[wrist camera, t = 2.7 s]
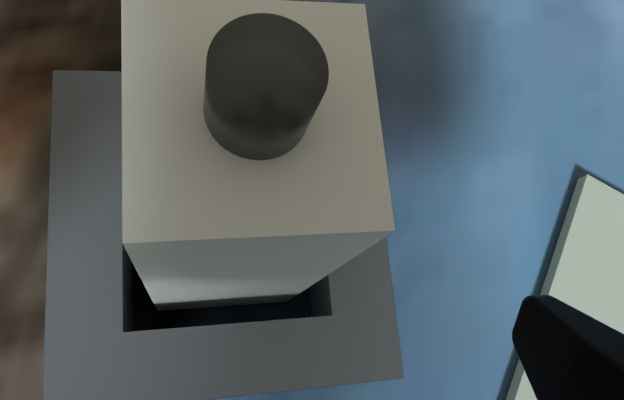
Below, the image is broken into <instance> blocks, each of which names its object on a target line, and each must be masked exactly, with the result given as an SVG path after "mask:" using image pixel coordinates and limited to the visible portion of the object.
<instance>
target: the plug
mask: <svg viewBox="0 0 624 400" xmlns="http://www.w3.org/2000/svg"><path fill="white" fill-rule="evenodd" d="M121 58H122V244H123V246H124V248H125V249H126V251H127V253H128V255H129V257H130V259H131V261H132V263H133V265H134V267H135V269H136V271H137V273H138V275H139V276H140V278H141V280H142V282H143V284H144V286H145V288H146V290H147V292H148V294H149V296H150V298H151V300H152V301H153V303H154V305H155V307H156V309H157V311H164V310H177V309H191V308H205V307H219V306H232V305H246V304H260V303H273V302H287V301H289V300H290V299H292V298H293V297H295V296H296V295H298V294H300V293H301V292H303V291H304V290H306V289H307V288H309V287H310V286H312V285H313V284H315V283H316V282H318V281H319V280H321V279H322V278H324V277H325V276H327V275H328V274H330V273H331V272H333V271H335V270H336V269H338V268H339V267H341V266H342V265H344V264H345V263H347V262H348V261H350V260H351V259H353V258H354V257H356V256H357V255H359V254H360V253H362V252H363V251H365V250H366V249H368V248H369V247H371V246H373V245H374V244H376V243H377V242H379V241H380V240H382V239H383V238H385V237H386V236H388V235H389V234H391V233H392V232H394V231H395V225H394V218H393V210H392V203H391V195H390V188H389V180H388V173H387V165H386V158H385V150H384V143H383V135H382V128H381V120H380V113H379V105H378V98H377V90H376V83H375V75H374V68H373V60H372V53H371V45H370V38H369V30H368V23H367V15H366V8H365V4H352V3H331V2H310V1H289V0H121Z"/></svg>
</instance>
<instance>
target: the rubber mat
mask: <svg viewBox="0 0 624 400" xmlns="http://www.w3.org/2000/svg"><path fill="white" fill-rule="evenodd" d="M544 294H545V295H551V296H553V297H555V298H557V299H558V300H560V301H562V302H564V303H566V304H568V305H570V306H572V307H574V308H575V309H577V310H579V311H581V312H583V313H585V314H587V315H589V316H591V317H592V318H594V319H596V320H598V321H600V322H602V323H604V324H606V325H608V326H609V327H611V328H613V329H615V330H617V331H619V332H621V333H623V334H624V194H622V193H620V192H618V191H617V190H615V189H613V188H611V187H609V186H608V185H606V184H604V183H602V182H600V181H599V180H597V179H595V178H593V177H591V176H590V175H588V174H587V175H585V176H583V177H581V178H579V179H578V180H577V184H576V187H575V190H574V193H573V196H572V199H571V202H570V205H569V208H568V211H567V214H566V217H565V220H564V223H563V226H562V229H561V232H560V235H559V238H558V241H557V244H556V247H555V251H554V254H553V257H552V260H551V263H550V266H549V269H548V272H547V275H546V278H545V281H544V284H543V287H542V290H541V293H540V295H544ZM506 400H537V398H536V396H535V394H534V391H533V389H532V387H531V384H530V382H529V380H528V377H527V375H526V373H525V370H524V368H523V366H522V363H521V361H520V359H519V360H518V363H517V366H516V369H515V372H514V375H513V378H512V382H511V385H510V388H509V391H508V394H507V397H506Z"/></svg>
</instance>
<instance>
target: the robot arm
mask: <svg viewBox="0 0 624 400" xmlns="http://www.w3.org/2000/svg"><path fill="white" fill-rule="evenodd" d="M512 340H513V344H514V347H515V349H516V352H517V354H518V356H519V359H520V361H521V363H522V366H523V368H524V370H525V373H526V375H527V377H528V380H529V382H530V384H531V387H532V389H533V391H534V394H535V396H536V398H537V400H624V334H623V333H621V332H619V331H617V330H615V329H613V328H611V327H609V326H608V325H606V324H604V323H602V322H600V321H598V320H596V319H594V318H592V317H591V316H589V315H587V314H585V313H583V312H581V311H579V310H577V309H575V308H574V307H572V306H570V305H568V304H566V303H564V302H562V301H560V300H558V299H557V298H555V297H553V296H551V295H545V294H544V295H532V296H527V297H526V298H525V299H524V300H523V301H522V304H521V307H520V310H519V313H518V316H517V319H516V322H515V325H514V328H513V332H512Z"/></svg>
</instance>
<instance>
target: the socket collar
mask: <svg viewBox="0 0 624 400" xmlns="http://www.w3.org/2000/svg"><path fill="white" fill-rule="evenodd" d="M309 296H310V307H311V317H307V318H294V319H282V320H269V321H257V322H244V323H232V324H219V325H207V326H194V327H182V328H169V329H157V330H144V331H132V261H131V259H130V257H129V255H128V253H127V251H126V249H125V248H124V246H123V244H122V71H75V70H53V82H52V114H51V147H50V179H49V212H48V244H47V277H46V309H45V342H44V374H43V400H208V399H217V398H226V397H236V396H245V395H254V394H263V393H272V392H282V391H291V390H300V389H309V388H318V387H328V386H337V385H346V384H355V383H365V382H374V381H383V380H392V379H401V378H404V374H403V367H402V359H401V351H400V343H399V335H398V328H397V320H396V312H395V304H394V297H393V289H392V281H391V273H390V265H389V258H388V250H387V242H386V237H385V238H383V239H382V240H380V241H379V242H377V243H376V244H374V245H373V246H371V247H369V248H368V249H366V250H365V251H363V252H362V253H360V254H359V255H357V256H356V257H354V258H353V259H351V260H350V261H348V262H347V263H345V264H344V265H342V266H341V267H339V268H338V269H336V270H335V271H333V272H331V273H330V274H328V275H327V276H325V277H324V278H322V279H321V280H319V281H318V282H316V283H315V284H313V285H312V286H310V287H309Z"/></svg>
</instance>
